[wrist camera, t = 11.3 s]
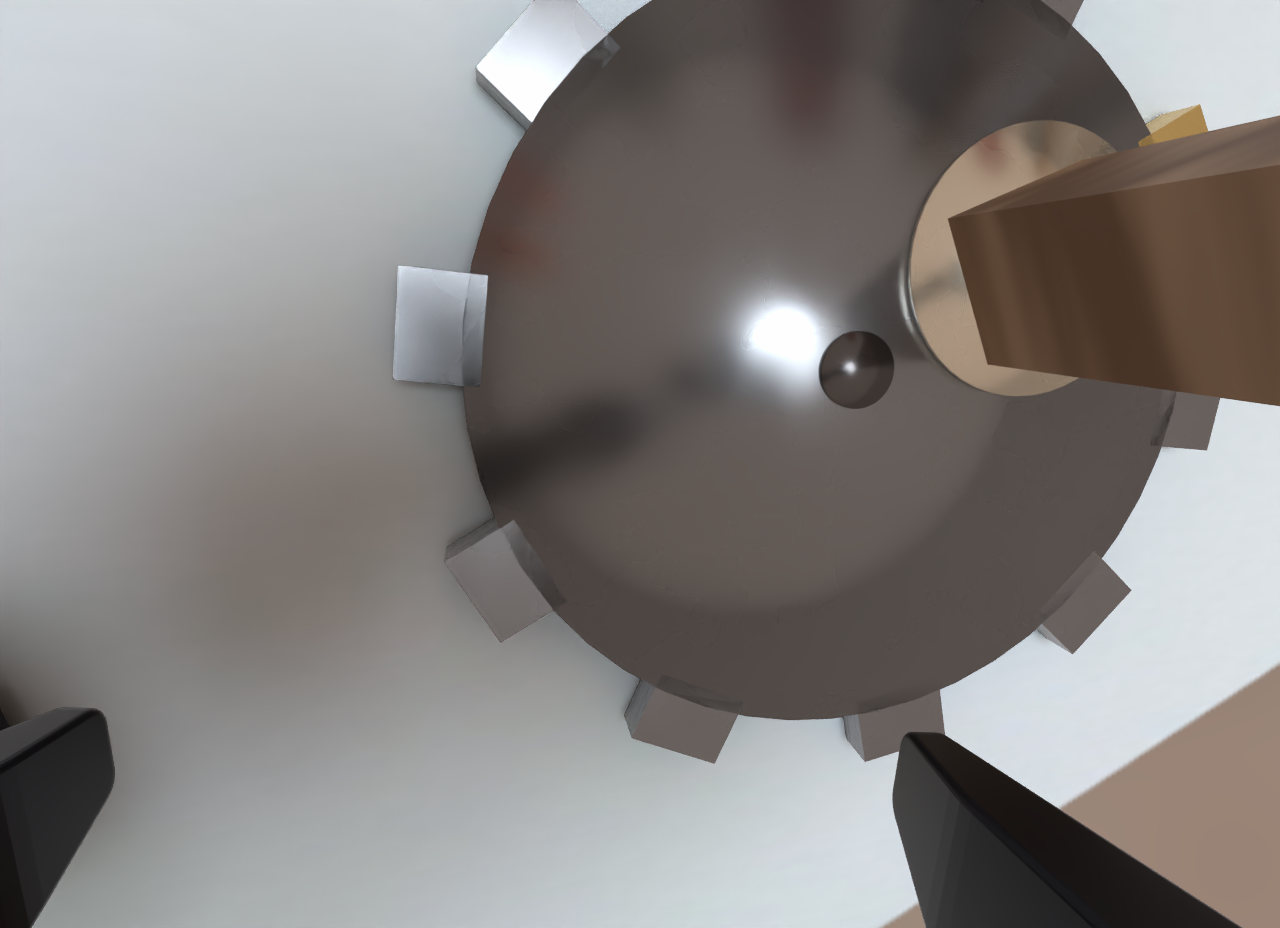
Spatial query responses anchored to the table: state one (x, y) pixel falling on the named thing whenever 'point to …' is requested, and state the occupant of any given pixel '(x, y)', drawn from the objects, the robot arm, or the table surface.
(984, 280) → the gold-topped wooden block
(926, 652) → the sprocket plate
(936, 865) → the robot arm
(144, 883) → the table surface
